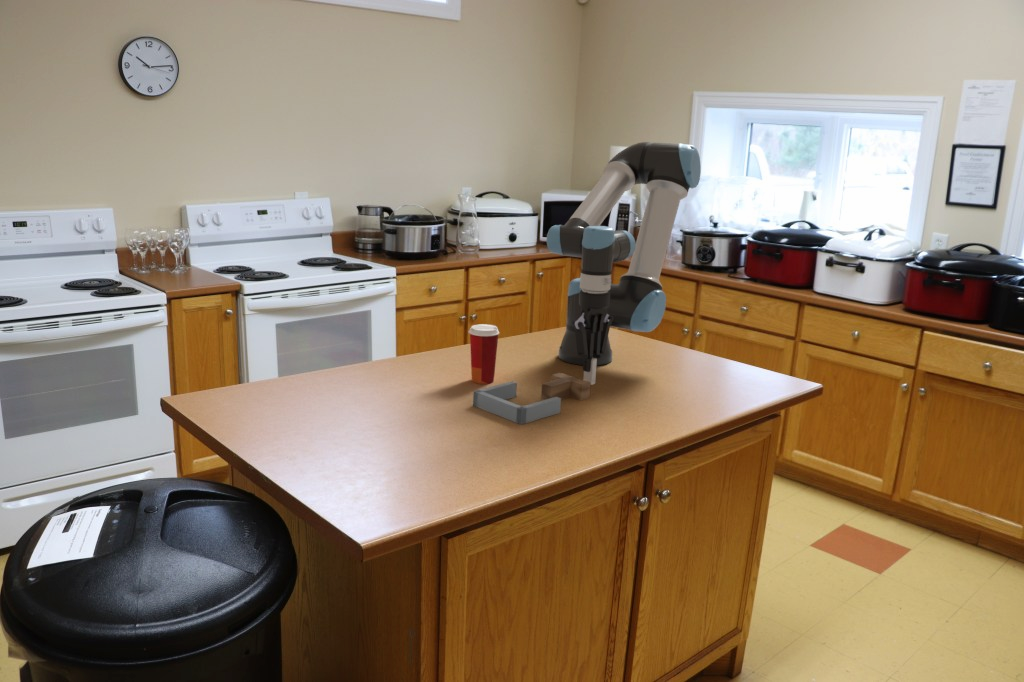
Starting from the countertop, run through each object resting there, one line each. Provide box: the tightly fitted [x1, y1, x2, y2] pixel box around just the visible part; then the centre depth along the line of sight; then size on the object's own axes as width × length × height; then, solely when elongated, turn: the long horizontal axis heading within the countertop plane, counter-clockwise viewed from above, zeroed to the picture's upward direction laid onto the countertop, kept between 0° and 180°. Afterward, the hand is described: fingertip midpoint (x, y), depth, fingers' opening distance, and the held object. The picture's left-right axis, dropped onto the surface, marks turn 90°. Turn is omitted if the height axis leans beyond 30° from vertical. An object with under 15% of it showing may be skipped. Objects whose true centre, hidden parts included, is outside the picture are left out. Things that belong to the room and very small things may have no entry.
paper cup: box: [467, 323, 500, 385], centre depth 213 cm, size 8×8×14 cm
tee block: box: [540, 372, 591, 401], centre depth 204 cm, size 10×10×4 cm
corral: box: [472, 381, 562, 425], centre depth 194 cm, size 16×12×4 cm
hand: (589, 382), depth 211 cm, fingers closed
